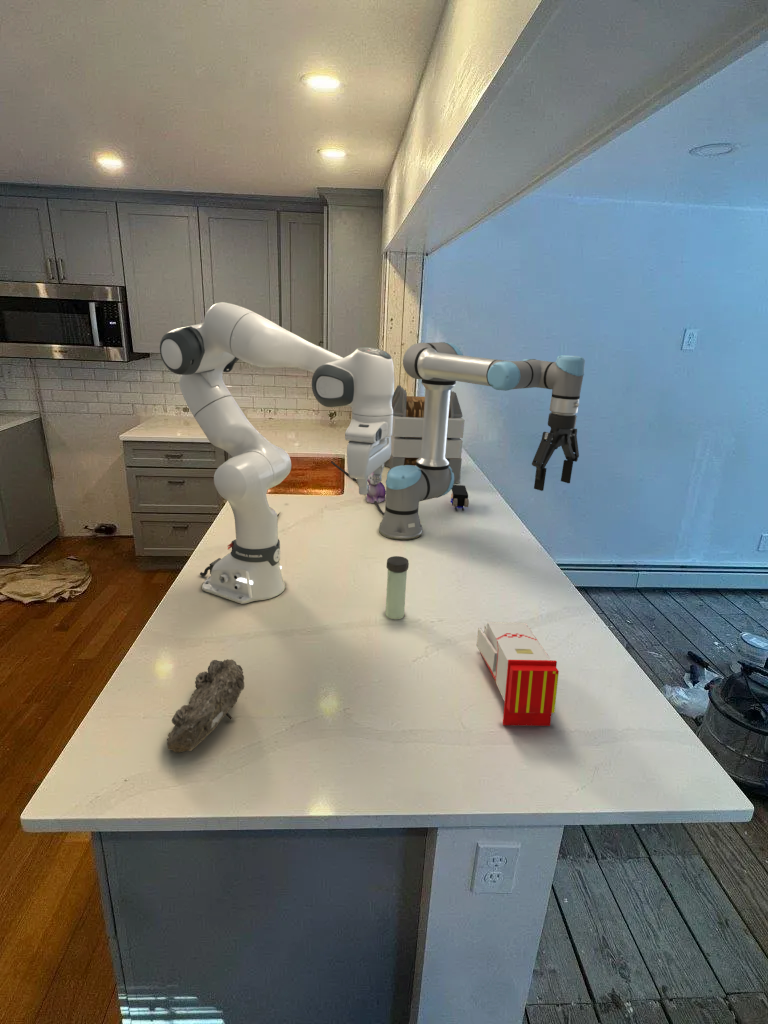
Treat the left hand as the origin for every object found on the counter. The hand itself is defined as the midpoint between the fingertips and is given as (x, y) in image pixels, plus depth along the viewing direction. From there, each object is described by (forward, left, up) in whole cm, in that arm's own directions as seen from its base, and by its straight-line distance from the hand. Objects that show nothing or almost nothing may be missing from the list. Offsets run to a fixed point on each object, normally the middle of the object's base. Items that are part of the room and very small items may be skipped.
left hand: (370, 487), depth 127 cm
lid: (+5, +10, -22) cm, 24 cm away
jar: (+5, +10, -37) cm, 39 cm away
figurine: (-28, +96, -37) cm, 107 cm away
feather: (-56, +64, -37) cm, 92 cm away
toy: (+36, -8, -37) cm, 52 cm away
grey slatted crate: (-21, +144, -37) cm, 150 cm away
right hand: (+39, +51, -9) cm, 65 cm away
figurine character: (+5, +102, -37) cm, 109 cm away
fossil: (-18, -39, -37) cm, 57 cm away
